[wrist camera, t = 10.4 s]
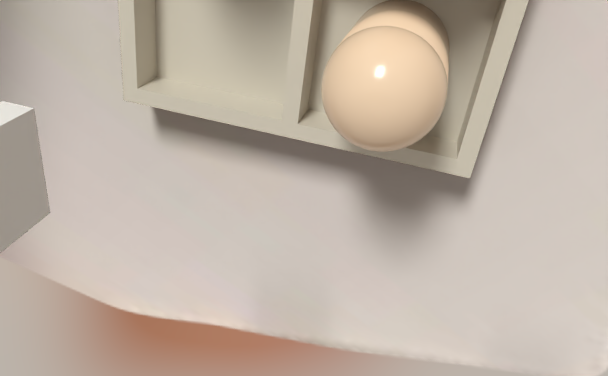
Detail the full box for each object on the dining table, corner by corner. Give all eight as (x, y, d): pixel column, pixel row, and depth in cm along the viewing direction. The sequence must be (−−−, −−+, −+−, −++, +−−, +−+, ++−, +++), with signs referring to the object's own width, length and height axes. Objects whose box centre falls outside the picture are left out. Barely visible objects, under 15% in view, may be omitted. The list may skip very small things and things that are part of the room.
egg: (340, 89, 26) (300, 156, 19) (357, -10, 23) (317, 28, 17) (435, 108, 25) (427, 186, 18) (462, 9, 23) (464, 56, 16)
